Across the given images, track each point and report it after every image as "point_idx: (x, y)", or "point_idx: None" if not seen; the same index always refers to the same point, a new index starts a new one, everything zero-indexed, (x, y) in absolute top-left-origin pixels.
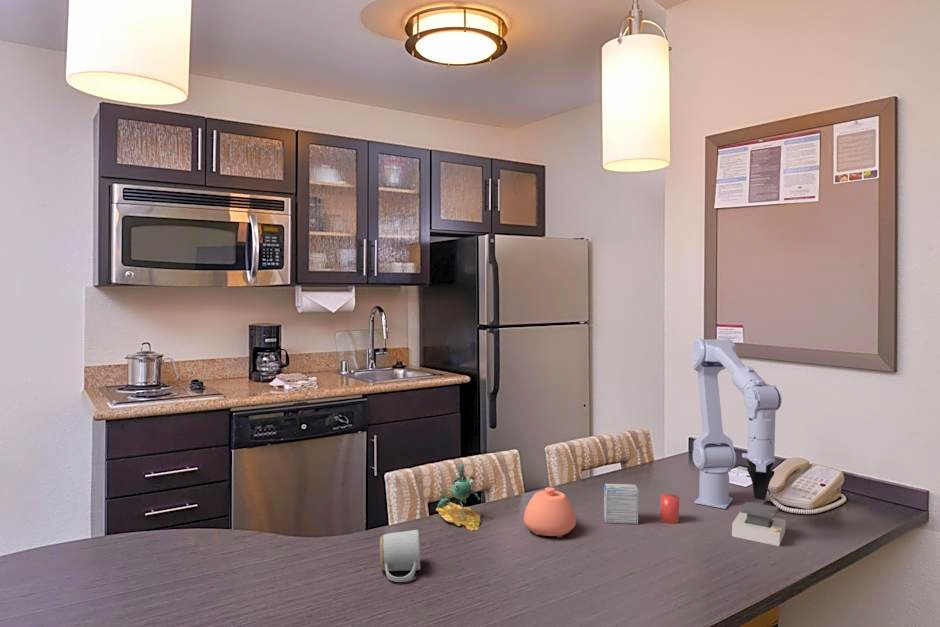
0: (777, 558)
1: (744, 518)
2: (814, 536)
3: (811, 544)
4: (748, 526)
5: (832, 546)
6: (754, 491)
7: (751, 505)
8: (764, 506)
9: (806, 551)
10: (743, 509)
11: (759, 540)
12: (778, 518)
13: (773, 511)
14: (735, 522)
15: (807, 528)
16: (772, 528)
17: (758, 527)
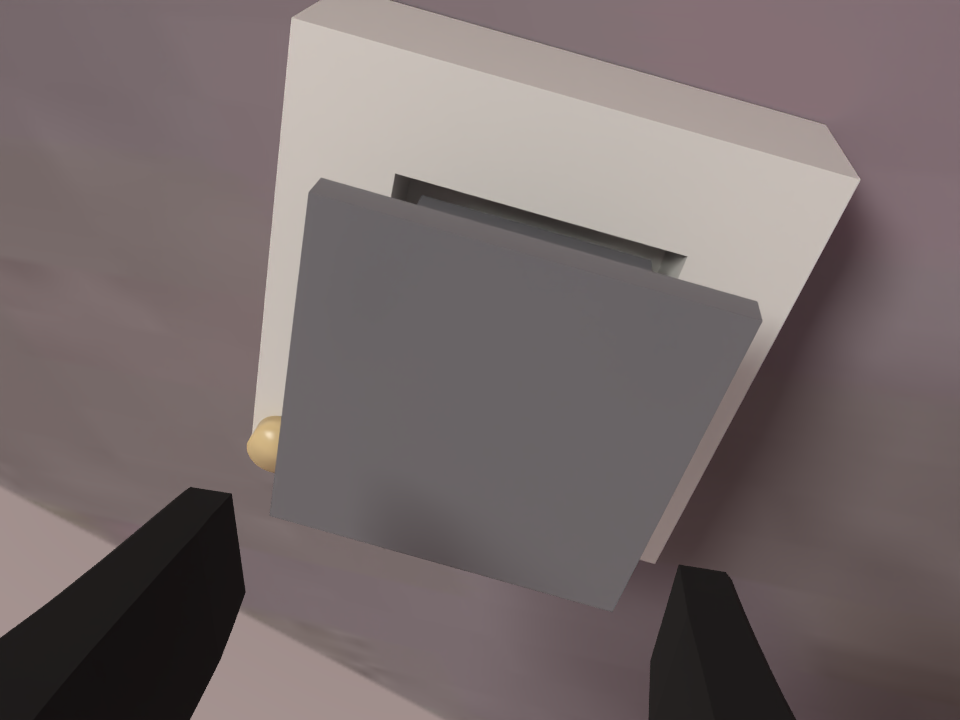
0: (34, 322)
1: (557, 196)
2: (615, 625)
3: (440, 573)
4: (290, 207)
5: (456, 662)
6: (102, 569)
7: (581, 362)
8: (592, 497)
9: None
10: (352, 234)
11: None
12: (671, 518)
13: (434, 544)
14: (357, 66)
15: (786, 629)
16: None
17: None
